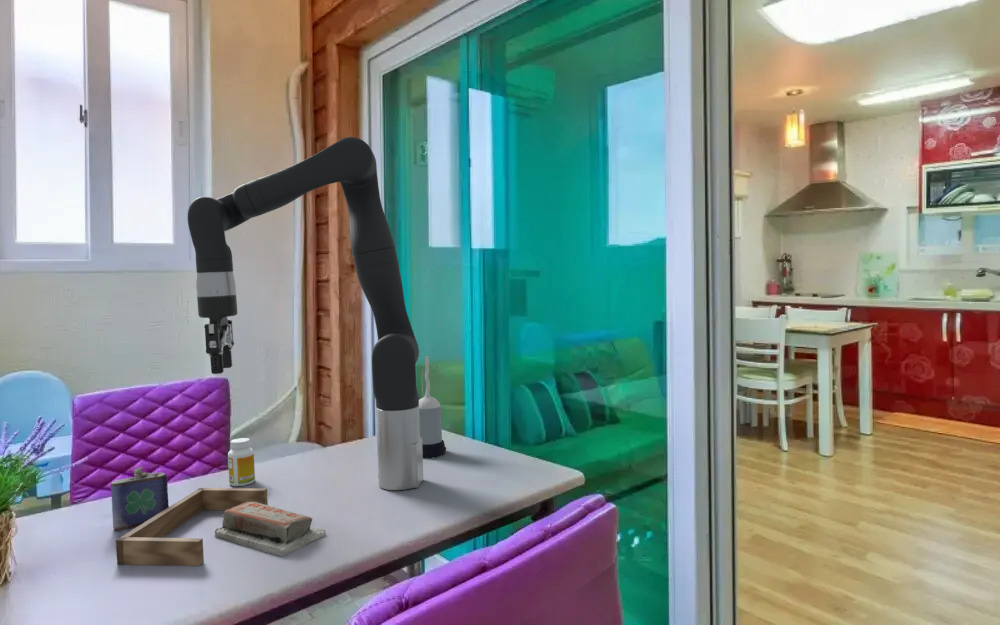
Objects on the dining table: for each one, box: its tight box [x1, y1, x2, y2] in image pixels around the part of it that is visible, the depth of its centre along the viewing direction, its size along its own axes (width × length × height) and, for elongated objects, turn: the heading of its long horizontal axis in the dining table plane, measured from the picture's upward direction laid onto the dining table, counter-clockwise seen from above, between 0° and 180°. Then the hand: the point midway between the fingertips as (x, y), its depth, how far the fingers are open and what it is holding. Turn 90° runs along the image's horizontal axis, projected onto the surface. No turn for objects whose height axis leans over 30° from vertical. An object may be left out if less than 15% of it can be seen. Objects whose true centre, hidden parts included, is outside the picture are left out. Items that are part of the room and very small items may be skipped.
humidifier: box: [419, 355, 447, 459], centre depth 160 cm, size 8×8×25 cm
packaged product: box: [214, 502, 327, 557], centre depth 112 cm, size 18×5×10 cm
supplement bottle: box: [227, 437, 256, 487], centre depth 140 cm, size 5×5×10 cm
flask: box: [110, 466, 170, 531], centre depth 118 cm, size 9×3×11 cm, turn 121°
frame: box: [115, 487, 269, 567], centre depth 113 cm, size 14×24×4 cm, turn 175°
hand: (222, 370), depth 133 cm, fingers open, 8 cm apart
